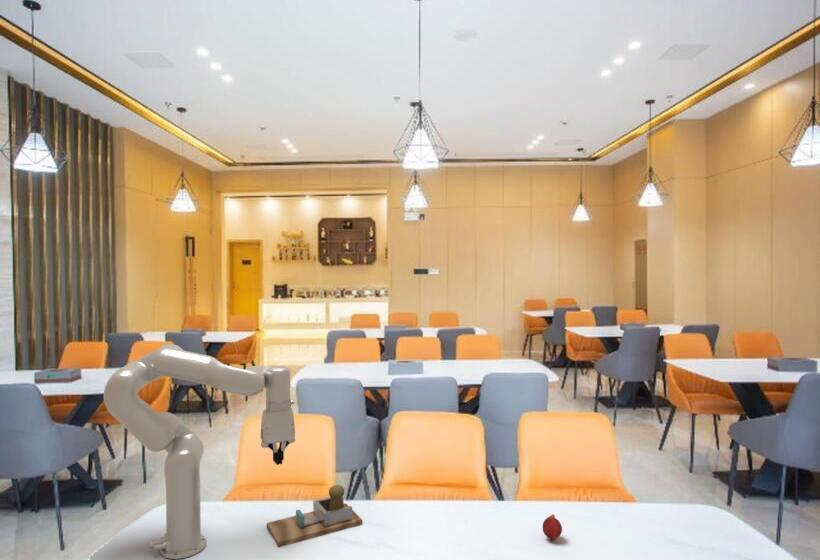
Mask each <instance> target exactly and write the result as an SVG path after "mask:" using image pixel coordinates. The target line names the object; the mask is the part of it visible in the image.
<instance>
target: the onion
mask: <svg viewBox="0 0 820 560" xmlns="http://www.w3.org/2000/svg"><path fill="white" fill-rule="evenodd" d="M555 516H556V515H555V514H553V513H552V514H551V515H550V516H548V517H546V518H545V519H544V521H543V523H542V532H543V534H544V535H545V536H546V538H548V539H550V540H551V541H555V540H557V539H558V538H559V537H560V536H561V535H562V533H563V527H562V524H561V522H560V521H559V519H557V518H556V517H555Z"/></svg>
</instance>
